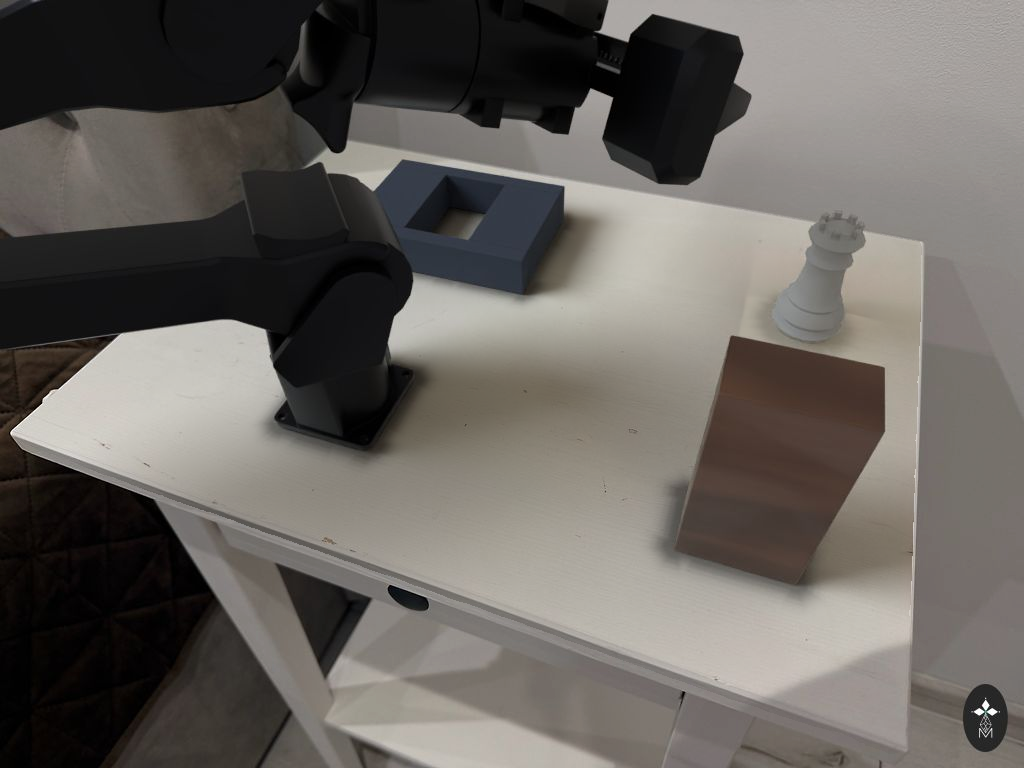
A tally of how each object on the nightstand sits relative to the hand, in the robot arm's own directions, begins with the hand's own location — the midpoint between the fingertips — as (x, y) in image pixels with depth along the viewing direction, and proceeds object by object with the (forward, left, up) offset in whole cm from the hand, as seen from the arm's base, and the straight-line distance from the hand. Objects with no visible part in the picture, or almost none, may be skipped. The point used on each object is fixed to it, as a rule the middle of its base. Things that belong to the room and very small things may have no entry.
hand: (685, 82), depth 39 cm
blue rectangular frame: (+1, +16, -14) cm, 21 cm away
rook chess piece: (-1, -10, -15) cm, 18 cm away
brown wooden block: (-19, -8, -14) cm, 26 cm away
